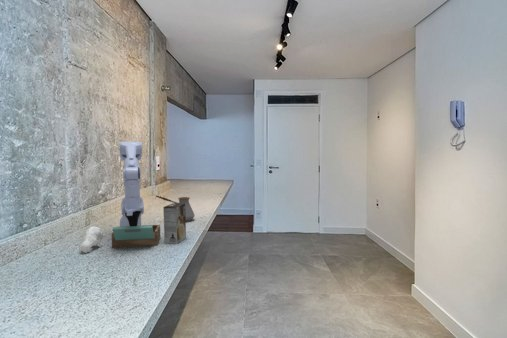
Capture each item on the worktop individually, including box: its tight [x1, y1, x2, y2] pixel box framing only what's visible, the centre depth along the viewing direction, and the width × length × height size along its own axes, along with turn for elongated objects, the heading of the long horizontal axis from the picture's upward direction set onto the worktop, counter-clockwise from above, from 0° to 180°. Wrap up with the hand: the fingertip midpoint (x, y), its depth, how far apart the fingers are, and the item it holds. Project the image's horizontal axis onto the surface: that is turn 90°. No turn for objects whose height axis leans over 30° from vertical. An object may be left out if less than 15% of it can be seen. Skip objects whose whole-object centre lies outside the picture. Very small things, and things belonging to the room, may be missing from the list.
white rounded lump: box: [79, 225, 104, 254], centre depth 129 cm, size 6×8×12 cm
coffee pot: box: [154, 195, 195, 223], centre depth 177 cm, size 21×12×15 cm, turn 107°
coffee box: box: [163, 202, 187, 245], centre depth 140 cm, size 9×6×16 cm
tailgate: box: [111, 224, 154, 240], centre depth 130 cm, size 2×15×7 cm
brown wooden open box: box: [111, 224, 161, 249], centre depth 138 cm, size 12×18×6 cm, turn 100°
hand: (133, 229), depth 130 cm, fingers closed, pressing on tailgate
